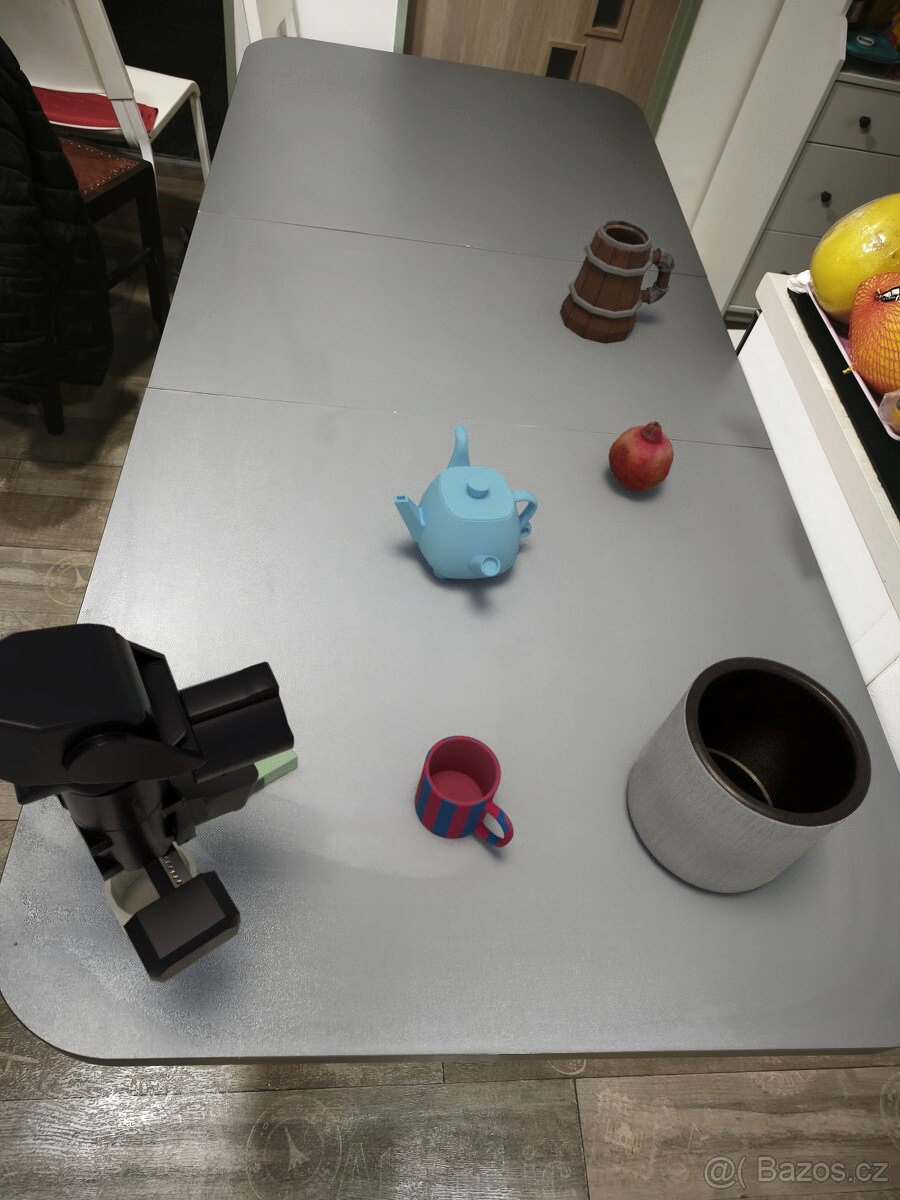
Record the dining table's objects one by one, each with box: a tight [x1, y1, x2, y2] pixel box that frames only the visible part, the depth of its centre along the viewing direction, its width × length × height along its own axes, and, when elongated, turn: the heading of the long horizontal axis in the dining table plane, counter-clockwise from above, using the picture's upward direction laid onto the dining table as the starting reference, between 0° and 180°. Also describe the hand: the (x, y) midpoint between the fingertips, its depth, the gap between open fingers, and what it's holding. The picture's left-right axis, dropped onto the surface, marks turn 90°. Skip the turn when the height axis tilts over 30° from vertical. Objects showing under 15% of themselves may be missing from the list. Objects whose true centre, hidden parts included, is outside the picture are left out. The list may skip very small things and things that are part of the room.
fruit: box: [608, 420, 675, 492], centre depth 104 cm, size 8×8×10 cm
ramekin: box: [104, 842, 199, 937], centre depth 63 cm, size 6×6×6 cm
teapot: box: [393, 423, 538, 580], centre depth 91 cm, size 15×14×11 cm
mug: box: [559, 218, 676, 344], centre depth 126 cm, size 16×12×15 cm
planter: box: [627, 656, 872, 894], centre depth 72 cm, size 16×16×16 cm
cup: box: [414, 735, 515, 848], centre depth 72 cm, size 7×10×7 cm
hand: (149, 879), depth 61 cm, fingers open, 9 cm apart
